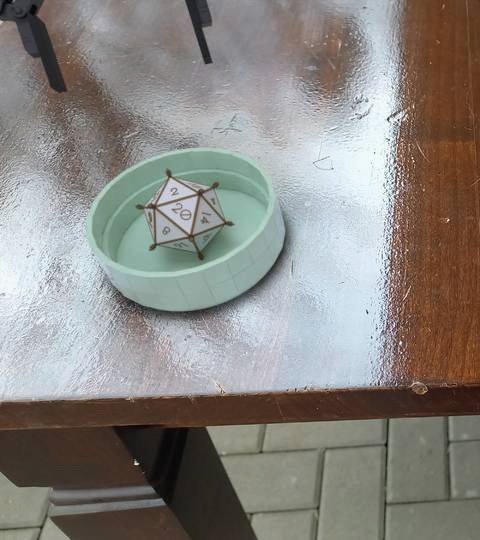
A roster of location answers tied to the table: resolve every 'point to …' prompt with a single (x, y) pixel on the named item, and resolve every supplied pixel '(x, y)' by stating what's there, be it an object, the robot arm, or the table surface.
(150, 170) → the bowl
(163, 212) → the game die
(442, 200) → the table surface
